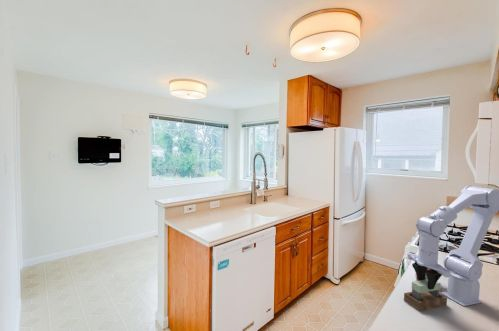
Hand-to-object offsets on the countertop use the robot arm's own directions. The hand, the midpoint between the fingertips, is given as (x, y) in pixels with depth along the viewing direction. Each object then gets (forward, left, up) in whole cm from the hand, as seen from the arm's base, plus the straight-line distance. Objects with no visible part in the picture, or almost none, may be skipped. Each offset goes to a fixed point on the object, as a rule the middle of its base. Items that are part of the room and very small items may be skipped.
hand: (426, 285), depth 87 cm
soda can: (-14, -11, -7) cm, 19 cm away
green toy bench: (0, 0, -5) cm, 5 cm away
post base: (0, 0, -7) cm, 7 cm away
